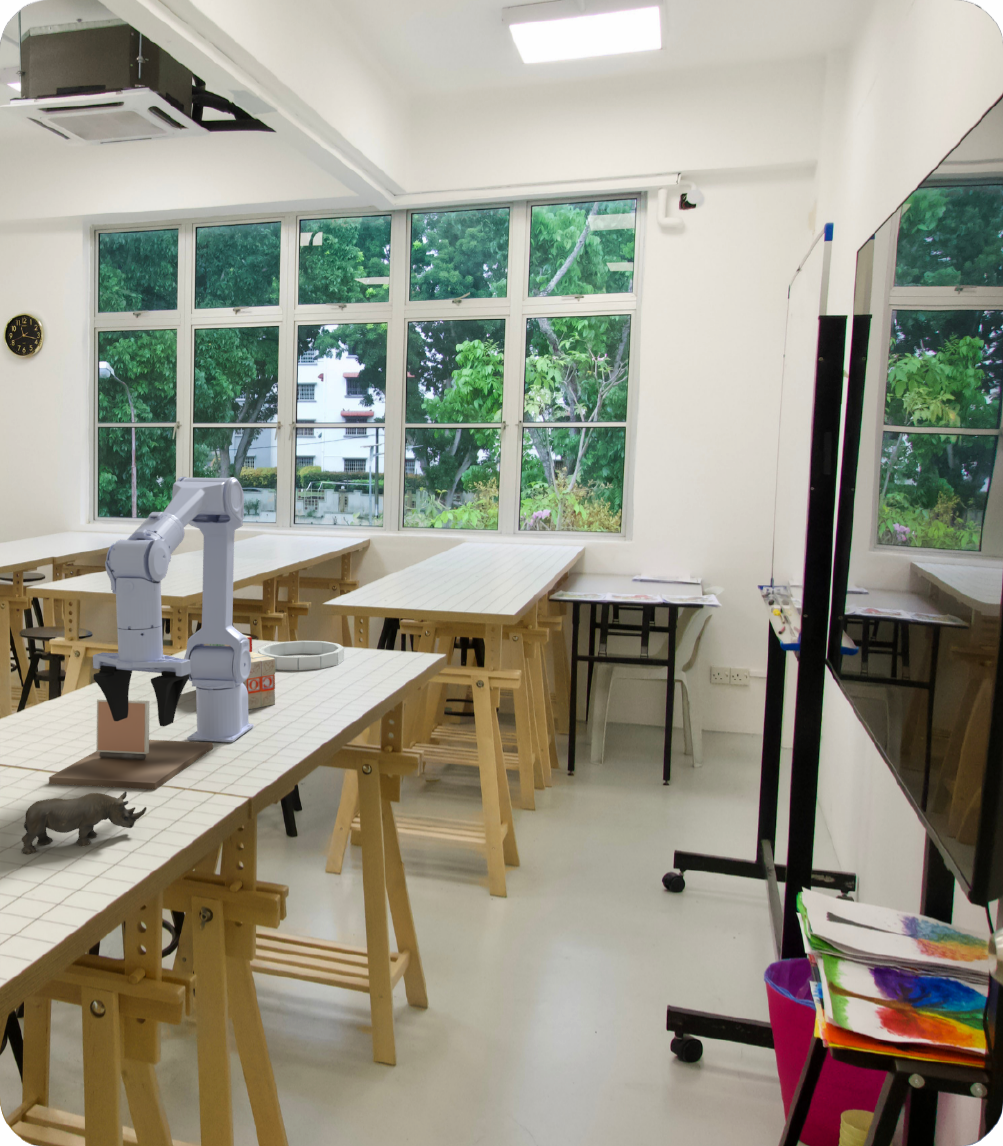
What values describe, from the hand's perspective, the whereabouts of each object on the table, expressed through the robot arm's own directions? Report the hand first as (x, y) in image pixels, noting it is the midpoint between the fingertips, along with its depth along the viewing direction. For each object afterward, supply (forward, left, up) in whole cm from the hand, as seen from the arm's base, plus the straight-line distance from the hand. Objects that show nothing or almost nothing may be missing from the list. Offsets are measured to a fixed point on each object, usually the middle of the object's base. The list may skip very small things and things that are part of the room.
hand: (143, 721), depth 119 cm
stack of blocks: (-51, -9, -10) cm, 53 cm away
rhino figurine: (+17, +1, -10) cm, 20 cm away
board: (-10, -7, -10) cm, 15 cm away
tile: (-10, -9, -4) cm, 14 cm away
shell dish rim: (-85, -7, -10) cm, 86 cm away
